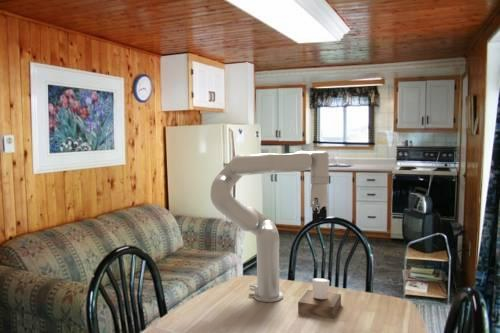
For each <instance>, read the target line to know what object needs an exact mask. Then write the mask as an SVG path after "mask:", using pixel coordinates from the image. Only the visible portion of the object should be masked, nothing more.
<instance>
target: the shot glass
mask: <svg viewBox="0 0 500 333" xmlns="http://www.w3.org/2000/svg"><path fill="white" fill-rule="evenodd" d="M311 281H312V290H313V297H314V298H317V299H327V297H328V292H329V288H330V280H329V279H327V278H322V277H315V278H312V280H311Z"/></svg>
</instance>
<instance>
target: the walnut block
mask: <svg viewBox="0 0 500 333" xmlns="http://www.w3.org/2000/svg"><path fill="white" fill-rule="evenodd" d="M341 305H342V294H341V293H334V292H329V291H328V297H327V299H317V298H314V297H313V289H312V290H311V289H307V290H306V291H305V293H304V294H303V295H302V297H300V299H299V300H298V302H297V312H298V313H297V314H303V315H309V316H315V317H321V318H329V319H335V316H336V315H337V312H338V311H339V309H340V307H341Z"/></svg>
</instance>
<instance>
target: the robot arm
mask: <svg viewBox="0 0 500 333" xmlns="http://www.w3.org/2000/svg"><path fill="white" fill-rule="evenodd" d="M329 155H330V154H329V153H328V151H327V150H325V151H324V150H317V151H315V150H314V151H306V150H298V151H297V150H296V151H295V152H294V153H273V152H270V153H269V152H265V153H264V152H263V153H254V154H237V155H235V156H234V157H232V158H231V160H230V161H229V162H228V163H227V164H226V166H225V167H224V168H223V169H222V170H221V171H220V172H219V173H218V174H217V175H216V176H215V178H214V179H213V181H212V182H211V183H212V184H211V186H210V200H211V203H212V204H213V206H214V207H215V209H216V210H218V212H219V213H220V214H222V215H223V216H225V218H227V219H228V220H229V221H231V222H232V223H233V224H234V225H235V226H237V227H238V228H239V229H240V230H242V231H244V232H249V233H252V234H253V235H254V236H255V238H256V276H257V277H256V282H257V284H252V283H251V284H249V291H253V292H254V293H253V298H254V299H255V300H256V301H259V302H261V303H262V302H263V303H273V302H279V301H280V300H283V298H284V293H283V291H281V290H280V235H279V230H278V227H277V226H276V224H275V223H274V222H273V221H272V220H271V219H270V218H268V217H267V216H266V215H264V214H263V213H261V211H259V210H257V209H256V208H254V207H252V206H250V205H249V206H248V205H244V204H243V203H241V201H239V200H238V199H236V198H235V197H234V196H233V195H232V192H231V191H232V189H233V187H234V186H235V185H236V184H237V183H238V181H239V180H240V179H241V178H242V177H243V176H252V175H253V176H254V175H263V174H276V173H279V174H280V173H291V172H292V173H293V172H302V171H306V170H308V169H309V170H310V185H311V186H310V187H311V188H310V204H309V205H310V208H311V213H312V214H311V215H312V217H311V220H312V221H311V222H312V223H315V224H319V223H321V219H327V217H328V212H327V211H328V209H327V208H328V206H327V204H328V185H329V182H330V181H329V175H330V174H329V171H330V170H329V169H330V167H329V163H330V162H329V157H330V156H329Z"/></svg>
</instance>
